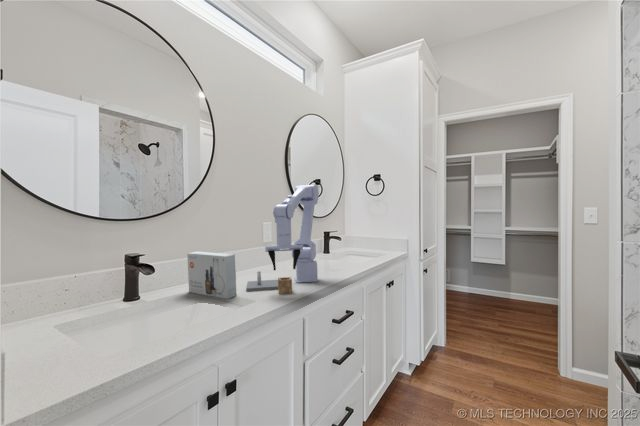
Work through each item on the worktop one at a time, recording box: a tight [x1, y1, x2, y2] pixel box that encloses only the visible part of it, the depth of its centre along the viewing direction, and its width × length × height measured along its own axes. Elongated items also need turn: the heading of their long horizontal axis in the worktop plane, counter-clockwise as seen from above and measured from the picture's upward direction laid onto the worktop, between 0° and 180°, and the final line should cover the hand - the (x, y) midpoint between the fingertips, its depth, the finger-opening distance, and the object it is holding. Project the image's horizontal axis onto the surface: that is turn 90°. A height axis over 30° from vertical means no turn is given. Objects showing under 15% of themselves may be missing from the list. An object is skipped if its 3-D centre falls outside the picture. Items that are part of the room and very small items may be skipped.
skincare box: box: [186, 251, 238, 300], centre depth 113 cm, size 21×5×16 cm, turn 62°
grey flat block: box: [245, 270, 278, 293], centre depth 123 cm, size 18×12×7 cm, turn 101°
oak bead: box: [277, 276, 293, 295], centre depth 114 cm, size 5×5×5 cm
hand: (284, 269), depth 114 cm, fingers open, 7 cm apart
